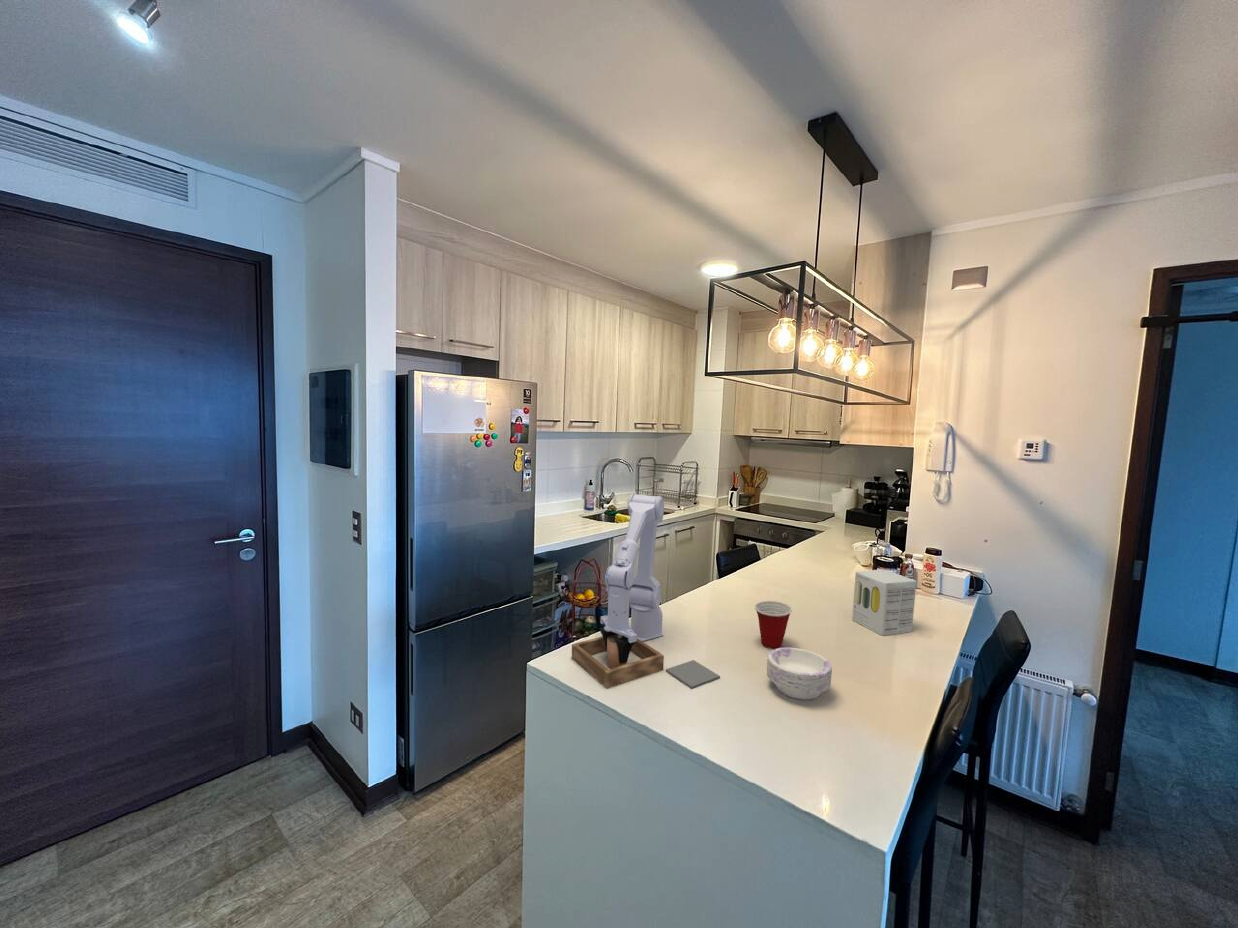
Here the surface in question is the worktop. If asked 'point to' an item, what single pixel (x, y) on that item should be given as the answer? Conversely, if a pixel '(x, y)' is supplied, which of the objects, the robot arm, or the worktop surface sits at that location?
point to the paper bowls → (799, 672)
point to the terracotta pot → (613, 652)
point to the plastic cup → (772, 622)
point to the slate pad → (692, 674)
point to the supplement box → (884, 601)
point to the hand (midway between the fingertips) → (616, 657)
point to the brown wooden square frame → (621, 674)
